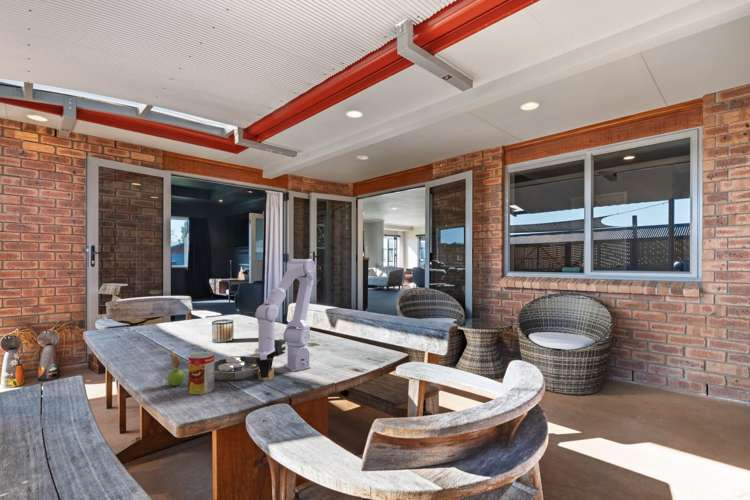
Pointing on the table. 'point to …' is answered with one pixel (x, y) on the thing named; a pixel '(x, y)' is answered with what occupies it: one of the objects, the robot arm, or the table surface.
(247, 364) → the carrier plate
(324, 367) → the table surface
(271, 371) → the gold octagonal ring
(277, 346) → the end cap
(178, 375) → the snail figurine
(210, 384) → the canned food
